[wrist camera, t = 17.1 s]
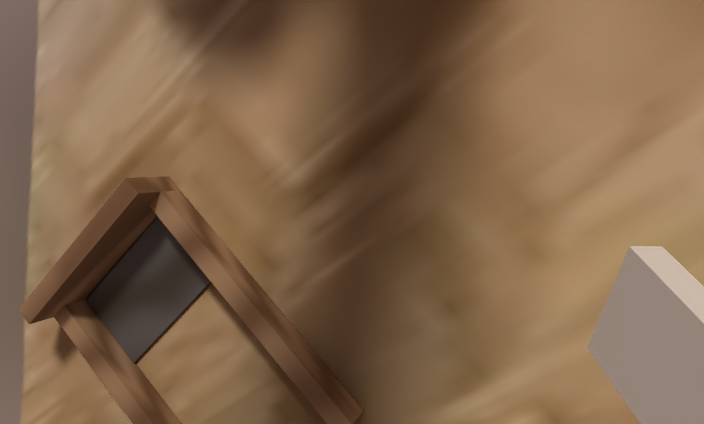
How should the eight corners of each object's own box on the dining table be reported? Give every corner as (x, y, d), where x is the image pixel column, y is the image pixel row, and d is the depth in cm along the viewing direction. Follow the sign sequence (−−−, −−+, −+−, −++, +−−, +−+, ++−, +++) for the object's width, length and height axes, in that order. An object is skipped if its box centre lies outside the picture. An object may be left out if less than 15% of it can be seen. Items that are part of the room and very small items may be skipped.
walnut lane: (66, 296, 55) (18, 309, 50) (168, 176, 51) (125, 178, 46) (236, 520, 51) (200, 557, 46) (364, 411, 46) (338, 439, 42)
